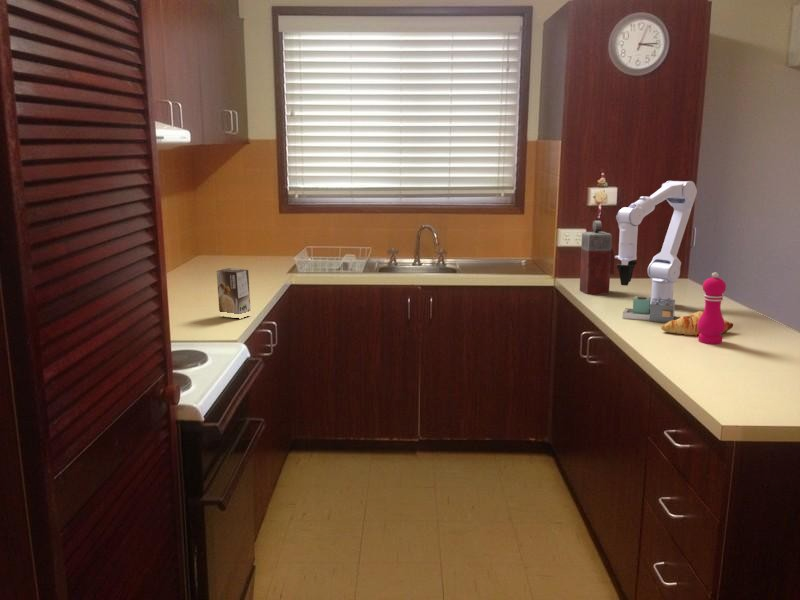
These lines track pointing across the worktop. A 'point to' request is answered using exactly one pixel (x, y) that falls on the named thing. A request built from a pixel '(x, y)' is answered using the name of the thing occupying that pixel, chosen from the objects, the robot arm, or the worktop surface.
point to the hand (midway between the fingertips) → (625, 283)
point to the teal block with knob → (641, 305)
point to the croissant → (688, 325)
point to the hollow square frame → (654, 311)
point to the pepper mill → (712, 311)
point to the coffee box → (233, 291)
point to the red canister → (596, 261)
